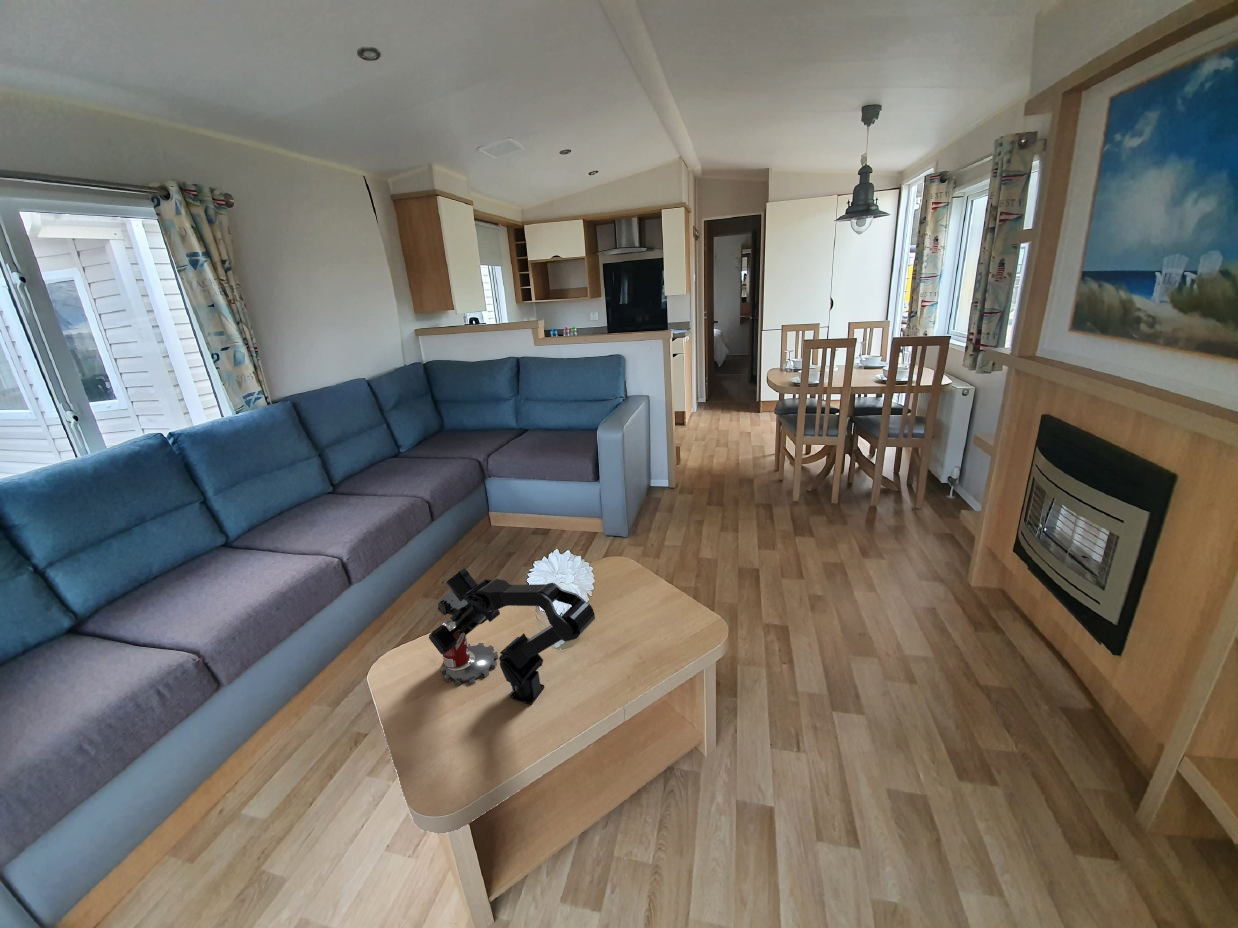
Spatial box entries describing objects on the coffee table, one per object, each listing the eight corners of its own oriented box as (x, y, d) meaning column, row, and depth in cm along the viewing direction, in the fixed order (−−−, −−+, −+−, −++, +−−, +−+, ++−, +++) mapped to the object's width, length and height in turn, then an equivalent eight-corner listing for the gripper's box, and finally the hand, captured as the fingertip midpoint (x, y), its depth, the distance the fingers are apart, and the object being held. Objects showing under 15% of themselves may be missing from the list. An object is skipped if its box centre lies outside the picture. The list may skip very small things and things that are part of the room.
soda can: (453, 674, 131) (446, 637, 127) (440, 663, 135) (432, 627, 131) (475, 660, 136) (468, 623, 132) (461, 650, 140) (454, 614, 136)
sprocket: (508, 653, 140) (508, 649, 139) (474, 691, 127) (473, 687, 126) (467, 641, 146) (466, 637, 145) (429, 676, 133) (429, 672, 132)
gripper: (482, 569, 134) (459, 594, 143) (426, 606, 119) (405, 632, 128) (507, 601, 133) (483, 624, 142) (455, 643, 118) (431, 666, 126)
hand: (452, 635), depth 134 cm, fingers open, 8 cm apart
